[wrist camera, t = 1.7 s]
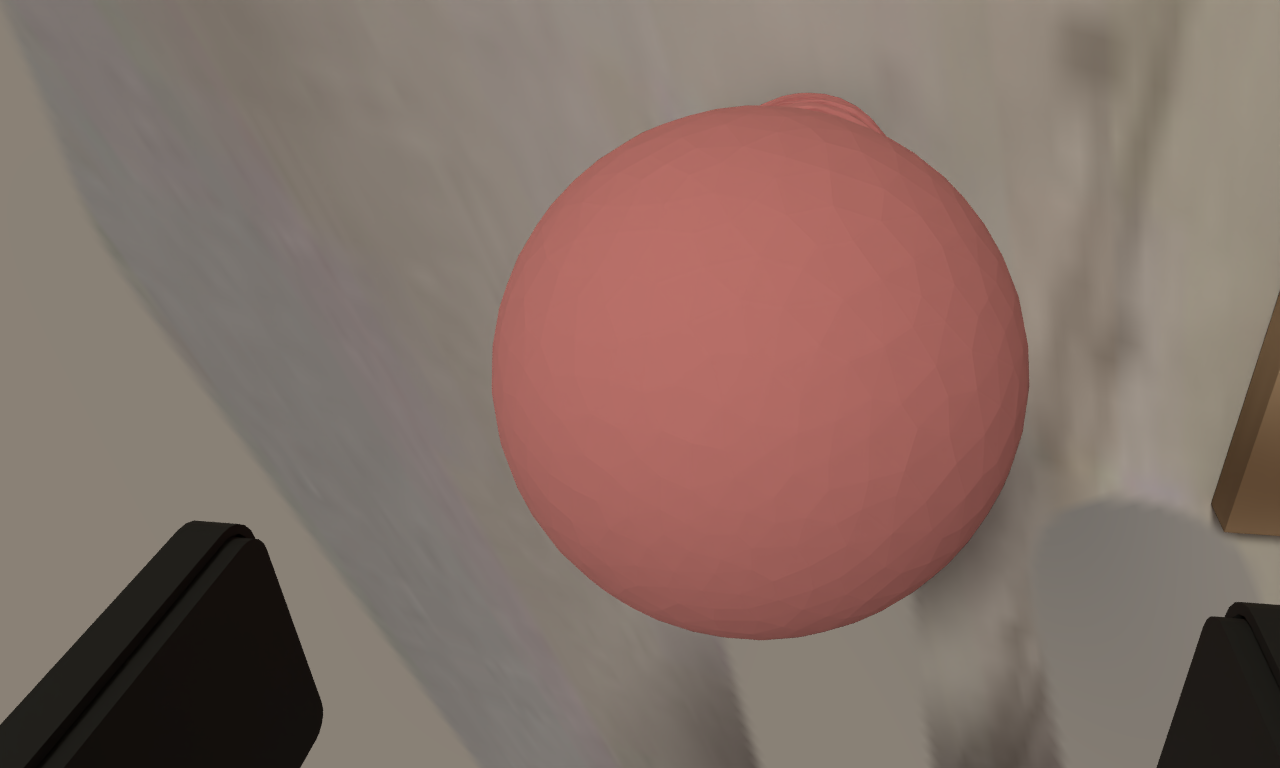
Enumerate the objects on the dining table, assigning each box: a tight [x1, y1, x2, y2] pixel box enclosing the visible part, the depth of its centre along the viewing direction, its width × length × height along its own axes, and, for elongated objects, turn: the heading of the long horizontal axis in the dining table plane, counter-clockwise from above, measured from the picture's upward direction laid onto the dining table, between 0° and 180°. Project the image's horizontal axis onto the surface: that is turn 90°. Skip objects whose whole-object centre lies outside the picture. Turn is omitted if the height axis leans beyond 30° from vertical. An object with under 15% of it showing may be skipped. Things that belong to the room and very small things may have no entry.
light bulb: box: [492, 93, 1029, 640], centre depth 15 cm, size 7×7×12 cm
